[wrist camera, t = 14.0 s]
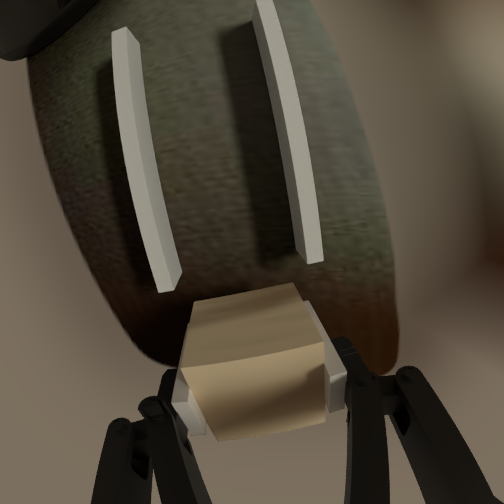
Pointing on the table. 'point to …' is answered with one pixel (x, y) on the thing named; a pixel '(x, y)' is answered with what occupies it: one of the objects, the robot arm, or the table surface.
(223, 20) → the table surface
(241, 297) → the maple block
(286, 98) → the channel
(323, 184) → the table surface
